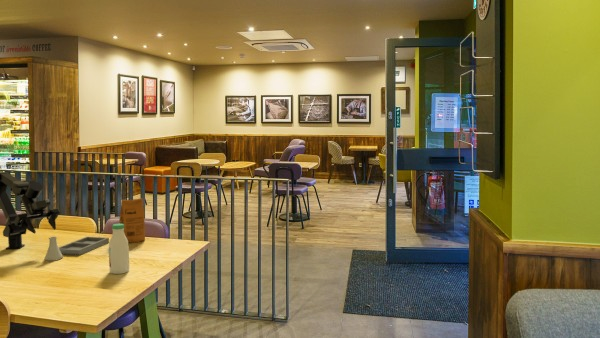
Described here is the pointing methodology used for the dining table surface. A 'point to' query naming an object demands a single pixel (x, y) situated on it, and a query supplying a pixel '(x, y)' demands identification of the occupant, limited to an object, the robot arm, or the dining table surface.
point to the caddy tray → (83, 245)
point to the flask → (53, 250)
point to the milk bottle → (118, 250)
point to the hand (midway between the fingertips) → (45, 231)
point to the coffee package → (133, 220)
